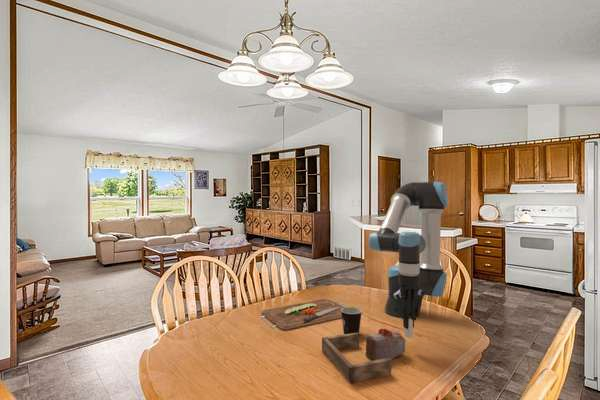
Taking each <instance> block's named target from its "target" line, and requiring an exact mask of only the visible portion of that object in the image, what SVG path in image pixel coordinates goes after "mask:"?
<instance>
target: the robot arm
mask: <svg viewBox="0 0 600 400" xmlns="http://www.w3.org/2000/svg"><path fill="white" fill-rule="evenodd" d="M448 205H449V196H448V191H447V186H446V184H445V183H444V182H441V181H424V182H421V181H420V182H416V181H415V182H408V183H406V184H404V185H401V187H398V189H397V190H395V192H394V193H393V194H392V196H391V198H390V205H389V208H388V209H387V212H386V214H385V217H384V218H383V221H382V223H381V226H380V228H379V229H378V231H377V232H371V233H370V234H369V237H368V246H369V249H371V250H372V251H377V252H388V253H389V252H390V253H398V264H396V265H392V266H390V267H389V269H388V276H387V279H388V291H387V292H388V295H387V298H386V303H385V306H384V313H386V314H387V315H389V316H392V317H396V318H400V319H402V321H403V324H402V325H403V328H404V336H405V337H407V338H409V339H413V334H414V330H413V329H414V328H415V321H416V320H417V318H419V317H420V313H421V308H422V304H423V303H422V302H423V299H424V297H425V296H429V297H431V298H432V297H433V298H434V297H436V298H440V297H443V295H444V293H445V290H446V284H447V278H448V277H447V276H448V273H447V272H445V271H444V267H443V266H442V264H441V229H442V228H441V225H442V224H441V223H442V222H441V221H442V218H441V217H442V215H441V214H442V213H443V212H445V208H446V207H448ZM412 206H415V207H418V211H419V212H420V213H421V226H420V227H421V233H418V232H415V231H402V232H400V233H398V231H399V229H400V226H401V224H402V222H403V219H404V216H405V213H406V212H407V210H408V209H410V207H412Z"/></svg>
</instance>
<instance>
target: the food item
mask: <svg viewBox="0 0 600 400" xmlns="http://www.w3.org/2000/svg"><path fill="white" fill-rule="evenodd" d="M405 352H406V338H405V337H404V336H403V335H402V334H401V332H399V331H398V330H396V329H389V330H388V329H387V328H380V329H378V333H377V332H376V333H372V334H371V333H370V334H367V335H366V345H365V357H367V359H368V360H371V361H375V360H380V359H385V358H390V359H391V360H393V359H394V358H396V357H399V356H402V355H403V354H405Z"/></svg>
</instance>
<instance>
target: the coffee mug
mask: <svg viewBox="0 0 600 400" xmlns="http://www.w3.org/2000/svg"><path fill="white" fill-rule="evenodd" d="M362 311H363V310H362V308H359V307H354V306H347V307H345V308H342V309H341V314H342V319H341V321H342V329H343V335H344V334H350V333H359V334H360V328H361V320H362Z"/></svg>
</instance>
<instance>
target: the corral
mask: <svg viewBox="0 0 600 400" xmlns="http://www.w3.org/2000/svg"><path fill="white" fill-rule="evenodd" d="M359 347H360V332H359V333H350V334H344V333H343V334H339V335H331V336H326V337H322V338H321V351H322V352H323V354H324V355H325V356H326V358H327V359H328V360H329V361H330V362H331V363H332V364H333V365H334V366H335V368H336V369H337V371H339V372H340V373H341V375H342V374H343V375H342V376H343V377H344V378H345V379H346V380H347V381H348V383H349V384H355V383H356V384H357V383H359V382H363V381H368V380H375V379H377V378H378V379H379V378H384V377H389V376H392V359H390V358H385V359H380V360H375V361H372V360H371V361H366V362H364V361H363V362H359V363H354V364H353V363H351V362H350V360H348V358H347V357H345V356H344V355H343V354H342V353H341V352H340V351H342V350H343V351H344V350H347V349H352V348H353V349H355V348H359Z"/></svg>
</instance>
